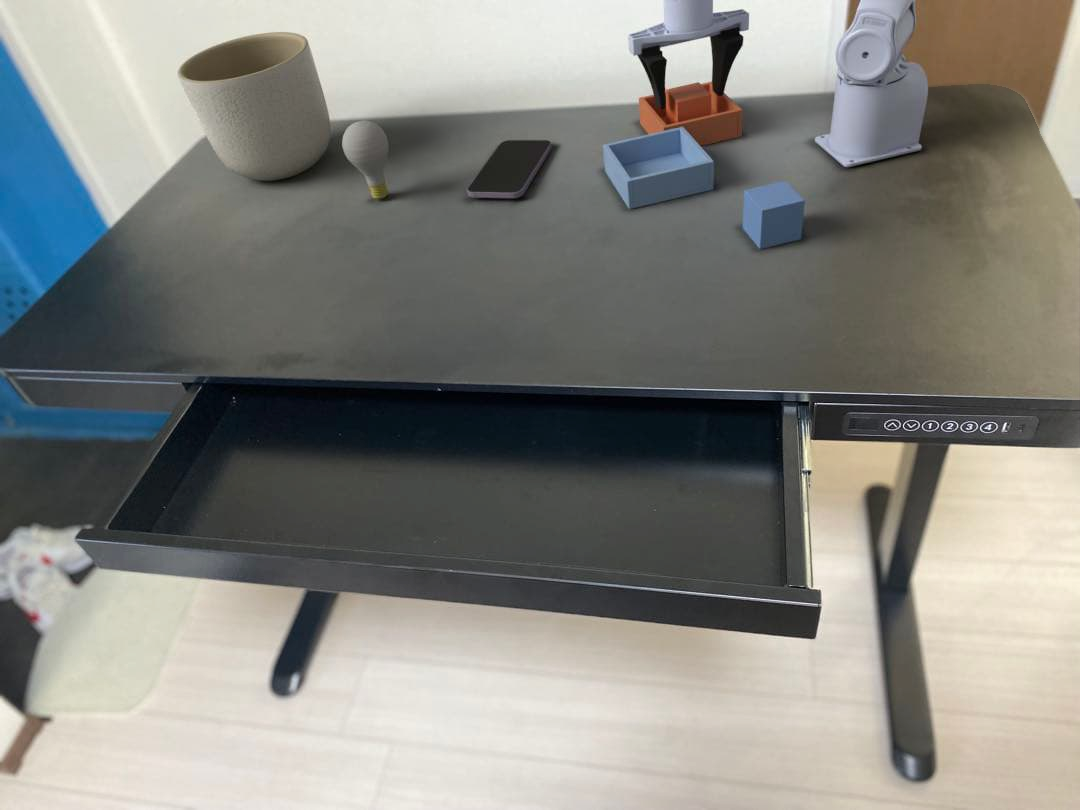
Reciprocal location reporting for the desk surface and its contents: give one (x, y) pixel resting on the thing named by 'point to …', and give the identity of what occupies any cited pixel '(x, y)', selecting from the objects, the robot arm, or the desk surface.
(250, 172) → the planter
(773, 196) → the slate-blue block
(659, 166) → the slate-blue bin
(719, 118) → the terracotta bin
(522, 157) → the smartphone
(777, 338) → the desk surface
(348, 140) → the light bulb
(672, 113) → the terracotta block
